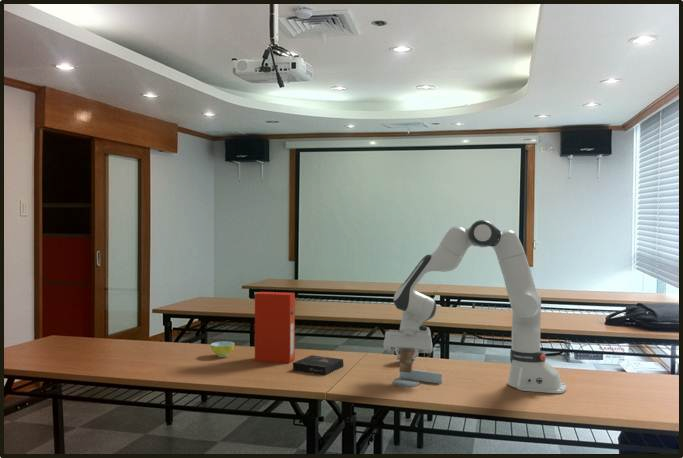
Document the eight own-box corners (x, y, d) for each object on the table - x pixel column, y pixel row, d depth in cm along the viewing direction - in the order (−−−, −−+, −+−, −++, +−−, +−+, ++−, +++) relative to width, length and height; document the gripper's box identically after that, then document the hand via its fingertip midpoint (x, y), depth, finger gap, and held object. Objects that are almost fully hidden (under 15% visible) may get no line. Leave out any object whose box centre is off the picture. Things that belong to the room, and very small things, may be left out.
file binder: (289, 363, 263) (289, 294, 263) (254, 361, 267) (254, 293, 266) (294, 359, 271) (294, 292, 270) (260, 357, 274) (260, 291, 274)
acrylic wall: (442, 382, 232) (442, 372, 232) (440, 384, 230) (440, 374, 230) (401, 377, 240) (401, 367, 240) (399, 378, 238) (399, 369, 238)
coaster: (423, 381, 233) (423, 380, 233) (414, 388, 223) (414, 387, 223) (398, 378, 238) (398, 377, 238) (388, 384, 228) (388, 384, 228)
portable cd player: (343, 367, 257) (343, 358, 257) (325, 376, 242) (325, 367, 242) (312, 363, 265) (312, 354, 265) (292, 371, 250) (292, 362, 250)
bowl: (210, 359, 269) (210, 346, 269) (211, 354, 281) (211, 341, 281) (234, 358, 272) (234, 345, 272) (234, 353, 283) (234, 340, 283)
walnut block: (412, 370, 232) (412, 350, 232) (410, 372, 228) (410, 353, 228) (401, 369, 233) (401, 350, 233) (399, 371, 230) (399, 352, 229)
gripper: (384, 325, 240) (379, 353, 231) (433, 328, 234) (429, 357, 225) (386, 333, 245) (381, 361, 235) (434, 337, 239) (431, 365, 229)
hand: (405, 359), depth 230 cm, fingers closed on walnut block, 4 cm apart
